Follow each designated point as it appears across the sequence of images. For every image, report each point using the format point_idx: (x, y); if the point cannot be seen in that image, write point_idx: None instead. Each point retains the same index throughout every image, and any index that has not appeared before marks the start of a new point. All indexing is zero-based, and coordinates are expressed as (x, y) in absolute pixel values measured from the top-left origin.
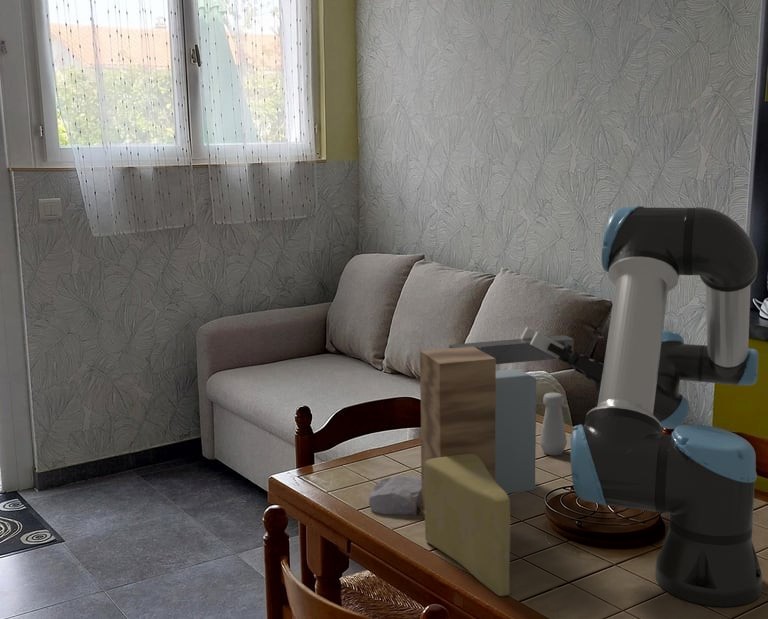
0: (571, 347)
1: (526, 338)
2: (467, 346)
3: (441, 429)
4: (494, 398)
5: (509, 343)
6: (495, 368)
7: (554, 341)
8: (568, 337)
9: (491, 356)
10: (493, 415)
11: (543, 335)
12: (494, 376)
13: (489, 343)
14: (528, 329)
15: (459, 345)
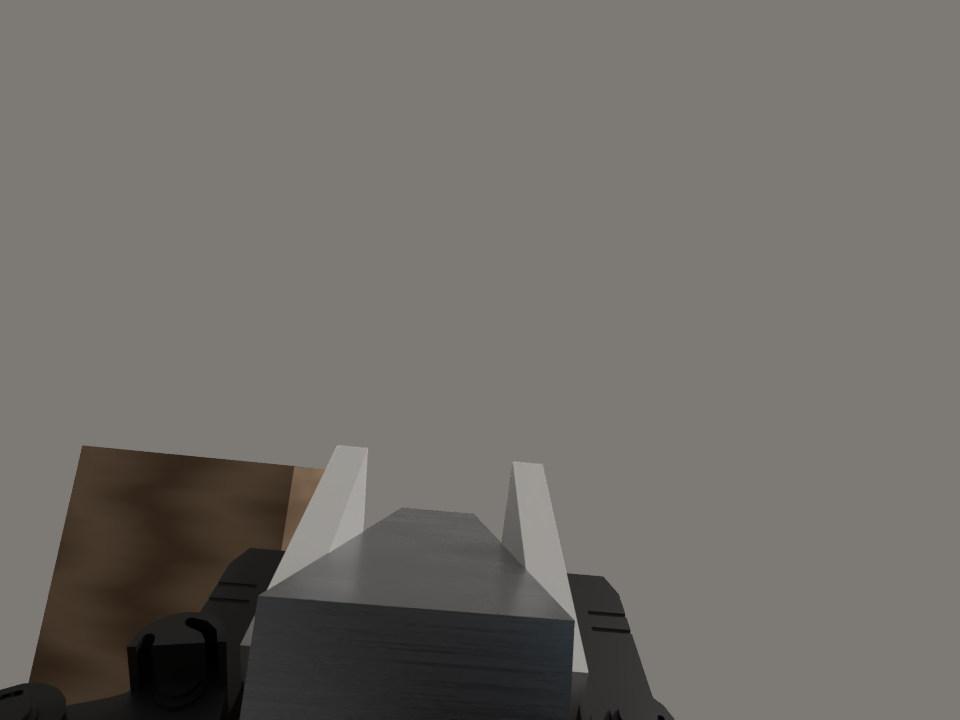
0: (133, 656)
1: (499, 545)
2: (421, 512)
3: None
4: (50, 598)
5: (402, 523)
6: (74, 481)
7: (290, 547)
8: (397, 602)
9: (119, 449)
10: (37, 668)
11: (324, 474)
12: (70, 511)
13: (441, 520)
14: (511, 475)
15: (449, 513)
